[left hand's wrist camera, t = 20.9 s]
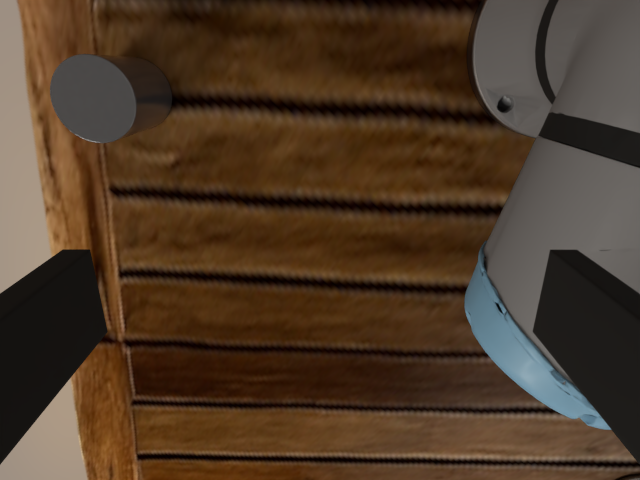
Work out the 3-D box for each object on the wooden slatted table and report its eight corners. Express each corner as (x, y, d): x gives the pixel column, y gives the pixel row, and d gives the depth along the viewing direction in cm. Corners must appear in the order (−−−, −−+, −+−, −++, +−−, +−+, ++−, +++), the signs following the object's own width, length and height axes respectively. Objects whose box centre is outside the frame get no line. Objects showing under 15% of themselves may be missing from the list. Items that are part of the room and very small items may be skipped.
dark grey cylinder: (167, 57, 37) (128, 53, 29) (176, 129, 39) (142, 143, 31) (97, 57, 37) (40, 53, 29) (110, 129, 39) (60, 143, 31)
